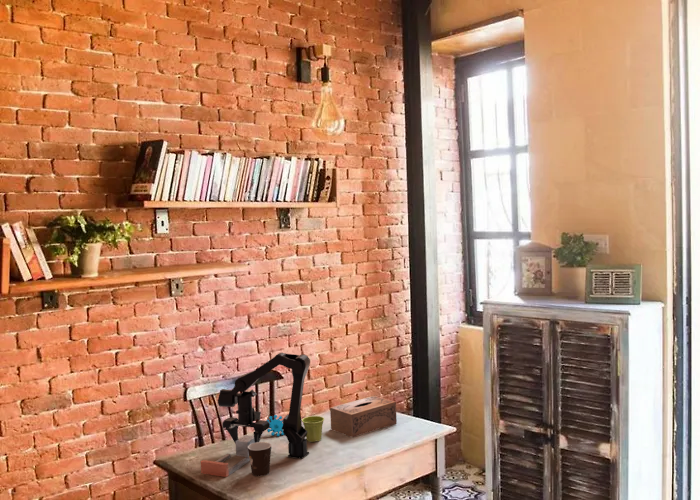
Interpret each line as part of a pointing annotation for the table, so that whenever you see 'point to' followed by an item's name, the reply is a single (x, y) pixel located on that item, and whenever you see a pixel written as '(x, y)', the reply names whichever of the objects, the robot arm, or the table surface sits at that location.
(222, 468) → the channel
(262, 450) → the coffee mug
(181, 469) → the table surface
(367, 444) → the table surface
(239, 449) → the metal box with button
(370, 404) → the tissue box cover
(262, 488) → the table surface
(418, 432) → the table surface
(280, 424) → the blue spiky piece
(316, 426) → the plant pot
